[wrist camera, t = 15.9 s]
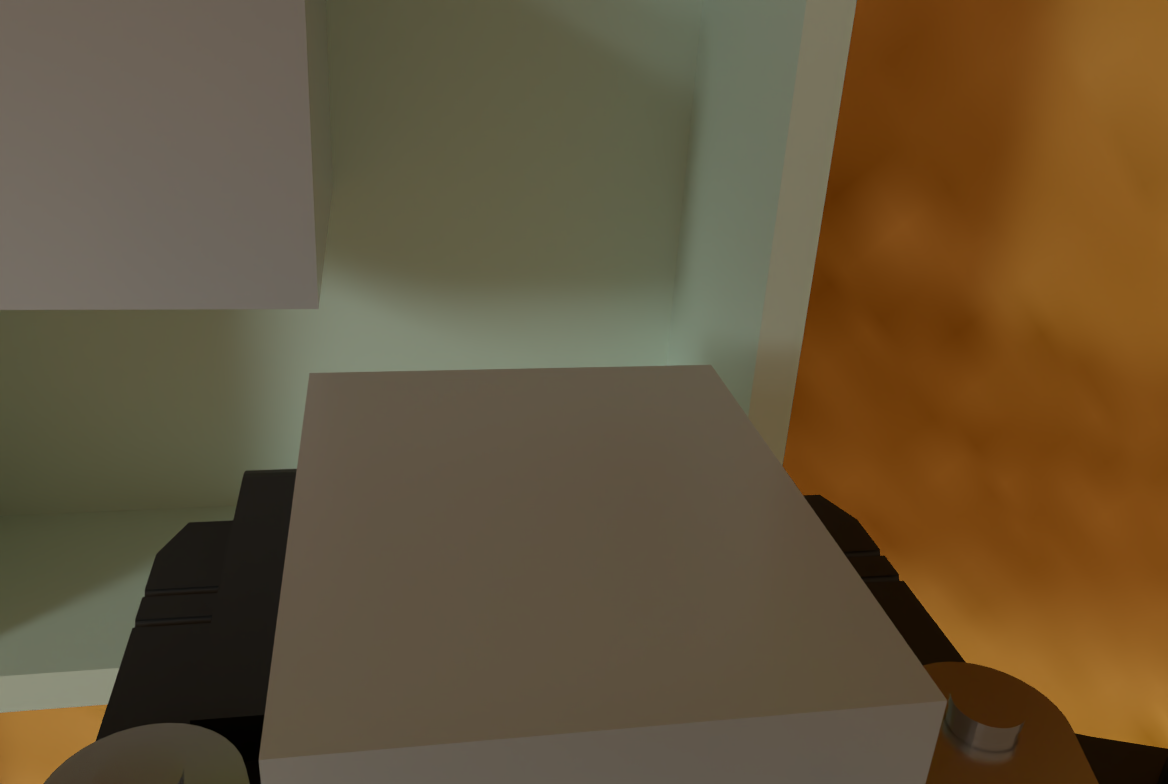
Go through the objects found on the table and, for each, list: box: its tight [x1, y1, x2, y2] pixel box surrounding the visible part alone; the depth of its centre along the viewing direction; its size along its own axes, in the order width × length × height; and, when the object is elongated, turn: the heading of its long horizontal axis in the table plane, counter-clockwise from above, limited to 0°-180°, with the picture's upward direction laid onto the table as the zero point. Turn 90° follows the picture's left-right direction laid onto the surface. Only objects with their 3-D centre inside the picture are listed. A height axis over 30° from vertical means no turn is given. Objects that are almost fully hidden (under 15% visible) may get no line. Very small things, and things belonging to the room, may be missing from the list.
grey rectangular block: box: [259, 365, 947, 784], centre depth 9 cm, size 4×4×5 cm
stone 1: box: [0, 0, 333, 310], centre depth 12 cm, size 4×4×5 cm
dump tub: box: [0, 0, 857, 713], centre depth 14 cm, size 12×12×5 cm
